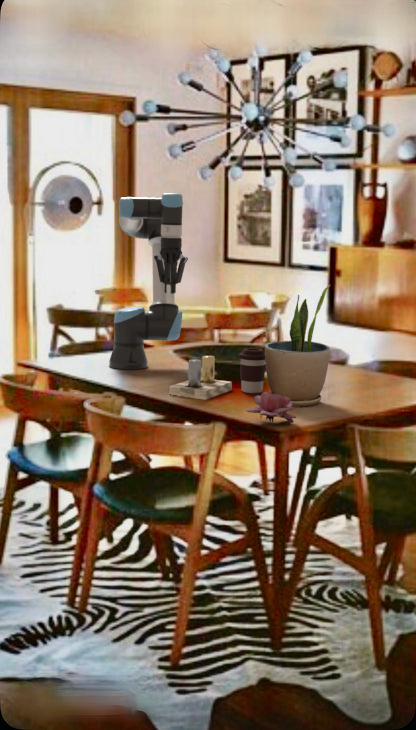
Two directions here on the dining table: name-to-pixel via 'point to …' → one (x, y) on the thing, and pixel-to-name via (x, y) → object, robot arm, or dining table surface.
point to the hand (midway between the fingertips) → (169, 302)
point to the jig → (201, 389)
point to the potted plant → (298, 361)
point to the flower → (273, 406)
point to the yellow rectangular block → (208, 369)
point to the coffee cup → (252, 370)
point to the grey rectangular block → (194, 373)
